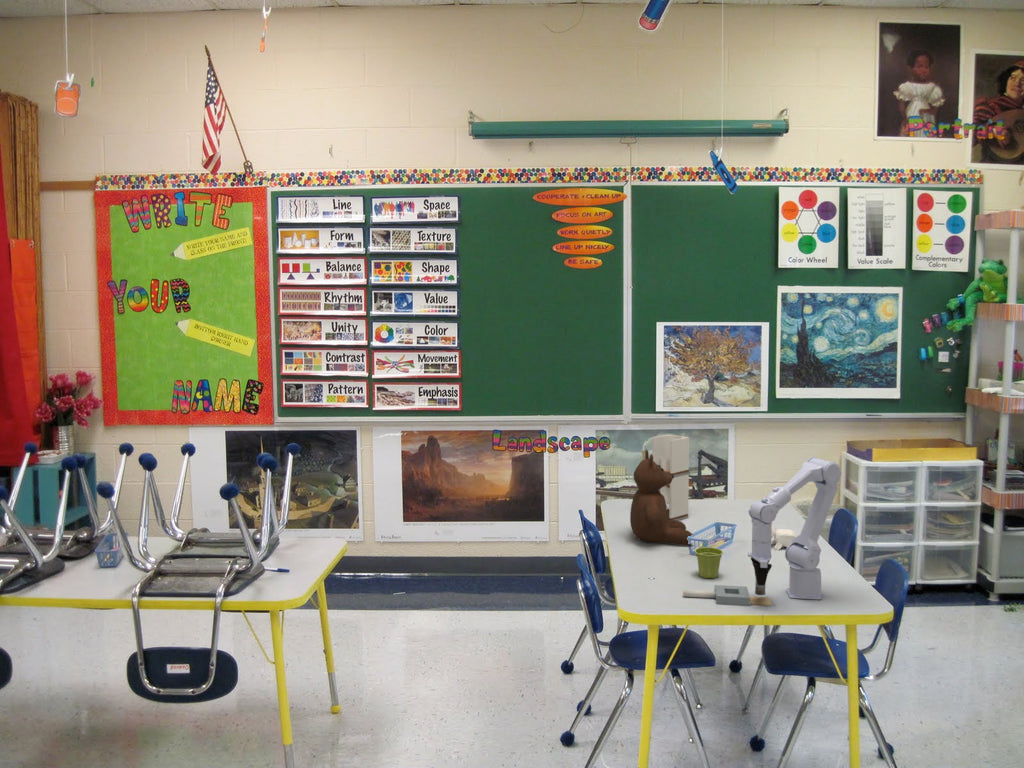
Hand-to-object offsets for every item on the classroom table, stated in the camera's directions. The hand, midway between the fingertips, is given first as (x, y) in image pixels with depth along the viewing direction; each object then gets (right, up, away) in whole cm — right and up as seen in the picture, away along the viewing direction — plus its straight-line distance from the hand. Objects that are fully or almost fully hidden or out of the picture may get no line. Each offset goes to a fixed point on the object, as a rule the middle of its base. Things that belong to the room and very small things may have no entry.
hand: (760, 583), depth 261 cm
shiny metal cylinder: (0, -3, 0) cm, 3 cm away
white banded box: (-10, +4, +97) cm, 98 cm away
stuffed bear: (-20, +1, +66) cm, 68 cm away
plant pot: (-10, -4, +25) cm, 27 cm away
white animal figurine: (+24, 0, +56) cm, 61 cm away
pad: (0, -6, +1) cm, 6 cm away
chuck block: (-13, -6, +4) cm, 15 cm away
